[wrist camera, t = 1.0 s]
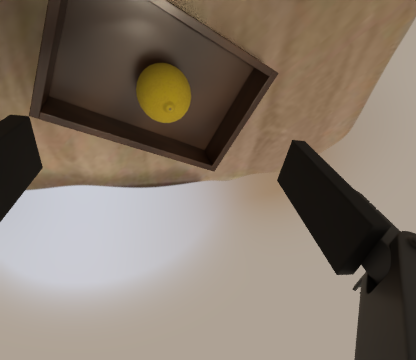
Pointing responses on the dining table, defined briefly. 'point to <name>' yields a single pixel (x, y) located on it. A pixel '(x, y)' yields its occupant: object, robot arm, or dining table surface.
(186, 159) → the tray
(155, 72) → the lemon
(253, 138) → the dining table surface
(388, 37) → the dining table surface
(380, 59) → the dining table surface
